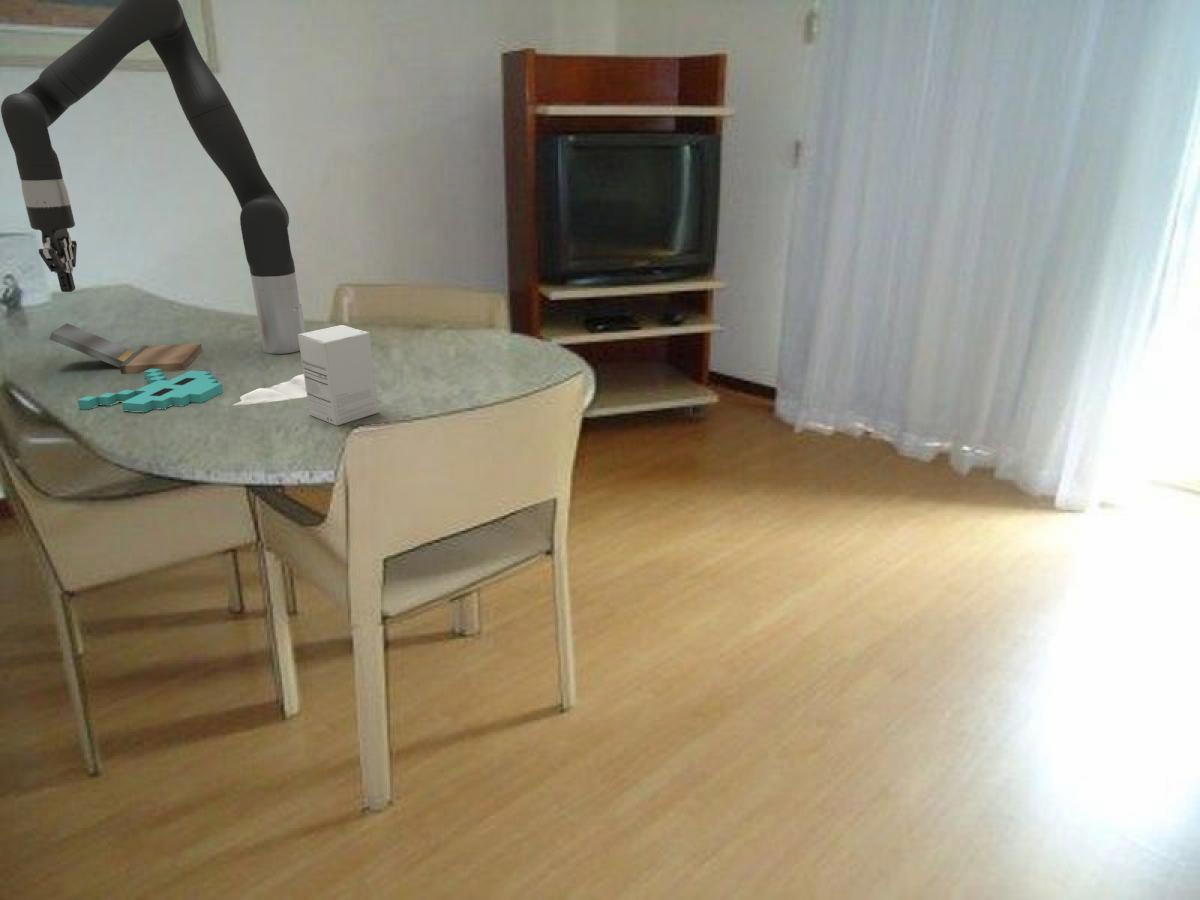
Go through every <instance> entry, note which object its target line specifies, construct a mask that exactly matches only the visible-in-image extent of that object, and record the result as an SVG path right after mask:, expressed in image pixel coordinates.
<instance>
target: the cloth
mask: <svg viewBox="0 0 1200 900" xmlns="http://www.w3.org/2000/svg"><path fill="white" fill-rule="evenodd" d="M303 398H307V392H306V386H305V379H304V373H301V374H298V375H296V376H294V377H292V378H291V379H290V380H288V381H284V382H281V383H278V384H275V385H272V386H271V387H270V386H269V387H265V388H263V387H258V388H256V389H255V390H252V391H250V392H247V393H245V394H242V395H241V396H239V399H240V401H238V402H236V403H233V404H232V405H231V406H232V407H237V406H244V405H246V406H248V405H254V404H255V405H256V404H266V403H271V402H282V401H288V400H294V399H303Z"/></svg>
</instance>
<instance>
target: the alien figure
mask: <svg viewBox="0 0 1200 900" xmlns="http://www.w3.org/2000/svg"><path fill="white" fill-rule="evenodd" d="M164 373H165V372H161V369H149V370H146V371H144V373H143V376H144V379H145V378H147V379H146V381H147V383H148V382H149V383H148V384H146V385H145V386H142V387H140V388H138V389H136V390H135V389H134V390H130V389H123V390H121V391H119V392H117V393H115V392H114V393H113V392H112V393H110V392H105V393H103V394H101V395H98V396H94V395H93V396H91V395H89V396H88V395H86V396H84V397H80V398H79V399H77V403H78V407H79V409H80V410H87V409H91V408H93V407H95V406H97V405H100V404H102V405H110V404H113V403H115V402H117V401H124V402H122V403H120V404H121V407H122V411H123V410H128V411H143V412H146V411H148V410H150V409H152V408H161V409H162V408H163V409H165V408H167V407H169V406H170V405H182V406H181V407H184V406H183V405H185V406H187V405H188V404H187V403H189V402H199V403H198V404H203V403H205V402H207V401H208V399H209V400H211V399H213V398H215V397H216V395H217V396H219V395H220V394H221V393H224V391H223V385H222V383H219V379H216V378H215V375H212V374H211V373H212V372H211V371H206V370H205V371H202V370H201V371H200V370H189V371H187V372H184V373H182V374H180V375H178V376H176V377H174V378H171V379H170V380H168V379H167V376H165V374H164ZM214 396H215V397H214ZM212 397H213V398H212ZM210 398H211V399H210ZM206 400H207V401H206ZM204 401H205V402H204ZM202 402H203V403H202ZM186 404H187V405H186ZM189 404H190V403H189ZM83 408H84V409H83ZM169 408H170V407H169ZM93 409H94V408H93ZM167 409H168V408H167ZM91 410H92V409H91ZM165 410H166V409H165Z"/></svg>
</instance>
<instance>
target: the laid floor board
mask: <svg viewBox="0 0 1200 900" xmlns="http://www.w3.org/2000/svg"><path fill="white" fill-rule="evenodd" d="M202 352H203V347H202V343H181V344H163V345H142V346H141V347H140V348H139V349H138V350H136V351H135V353H134V354H133V355H132V356H131V357H129V358H128V359H127V360H126V361H125V362H123V363H122V364H121V365H120V368H119V370H120V374H122V375H124V374H125V375H129V374H128V373H131V374H140V373H139V372H144V371H146V370H149V369H161V371H167V372H177V371H176V370H184V369H185V368H186V367H187V366H188V365H189V366H190V364H192V362H193V361H194V360H195V359H196V358H197V357H198V356H199V355H200V354H201V353H202ZM199 353H200V354H199ZM198 354H199V355H198ZM197 355H198V356H197ZM196 356H197V357H196ZM195 357H196V358H195ZM194 358H195V359H194ZM189 366H188V367H189ZM188 367H187V368H188ZM187 368H186V369H187ZM186 369H185V370H186ZM185 370H184V371H185Z"/></svg>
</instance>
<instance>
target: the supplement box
mask: <svg viewBox="0 0 1200 900" xmlns="http://www.w3.org/2000/svg"><path fill="white" fill-rule="evenodd" d="M305 332H306V333H301V334H298V339H299V346H300V351H299V352H300V359H301V366H302V371H303V373H302V374H304V379H305V386H306V392H307V397H306V398H307V406H308V411H309V412H308V413H309V415H310V416H311V417H315V418H317V419H319V420H321V421H325V422H327V423H329V424H331V425H334V426H335V427H336V426H341V425H345V424H346V423H350V422H353V421H356V420H360V419H363V418H365V417H366V418H367V417H369V416H372V415H375V414H379V413H380V410H379V401H378V400H379V399H378V393H377V384H376V383H377V382H376V376H375V370H374V369H375V368H374V362H373V354H372V343H371V335H370V332H369V331H365V330H361V329H357V328H354V327H350V326H348V325H346V324H345V325H344V324H340V325H335V326H331V327H326V328H321V329H316V330H311V331H305Z"/></svg>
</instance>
